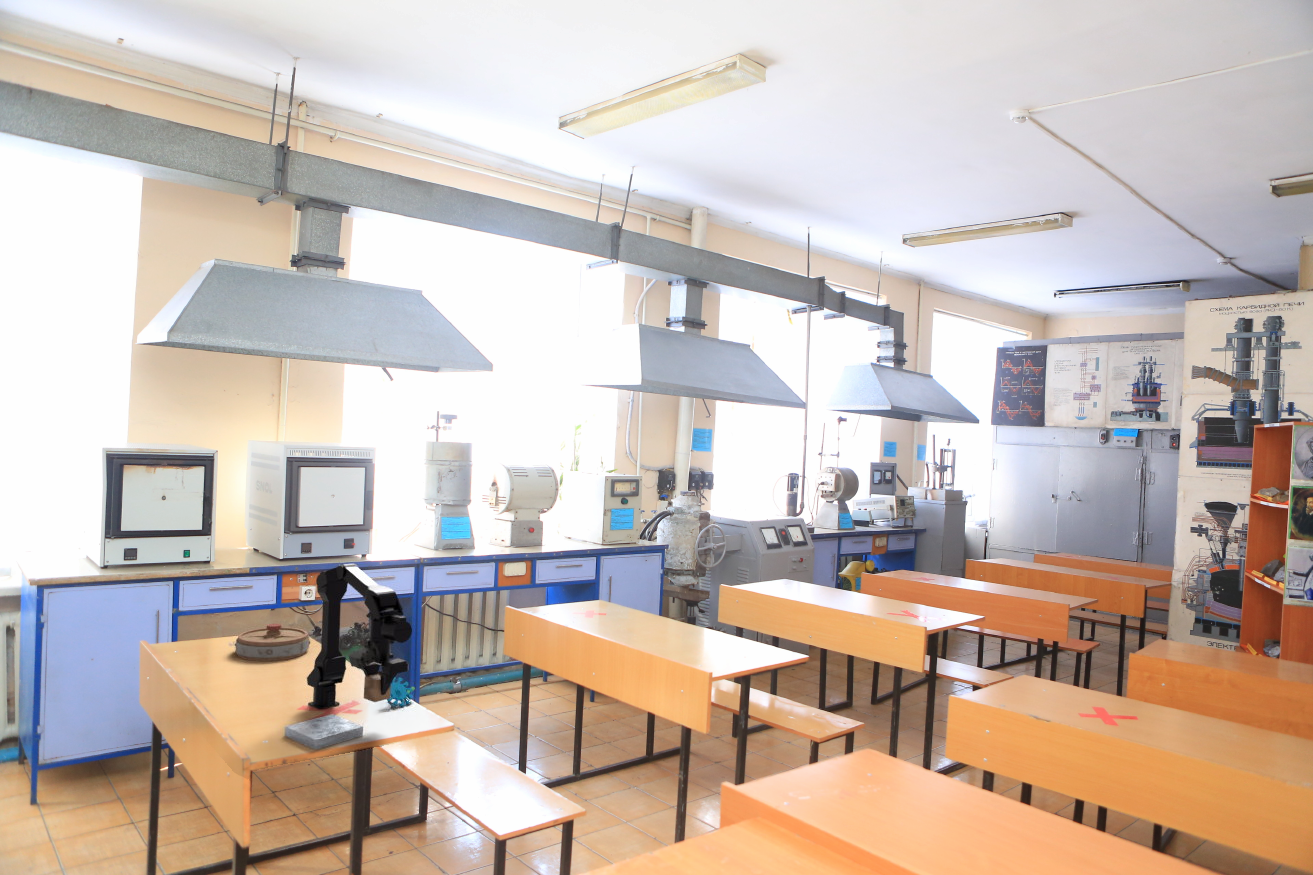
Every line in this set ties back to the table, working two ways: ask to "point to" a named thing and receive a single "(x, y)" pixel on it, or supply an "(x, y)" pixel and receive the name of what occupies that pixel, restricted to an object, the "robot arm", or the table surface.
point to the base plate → (323, 731)
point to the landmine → (272, 643)
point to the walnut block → (374, 689)
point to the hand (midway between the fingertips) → (377, 692)
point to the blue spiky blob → (400, 692)
